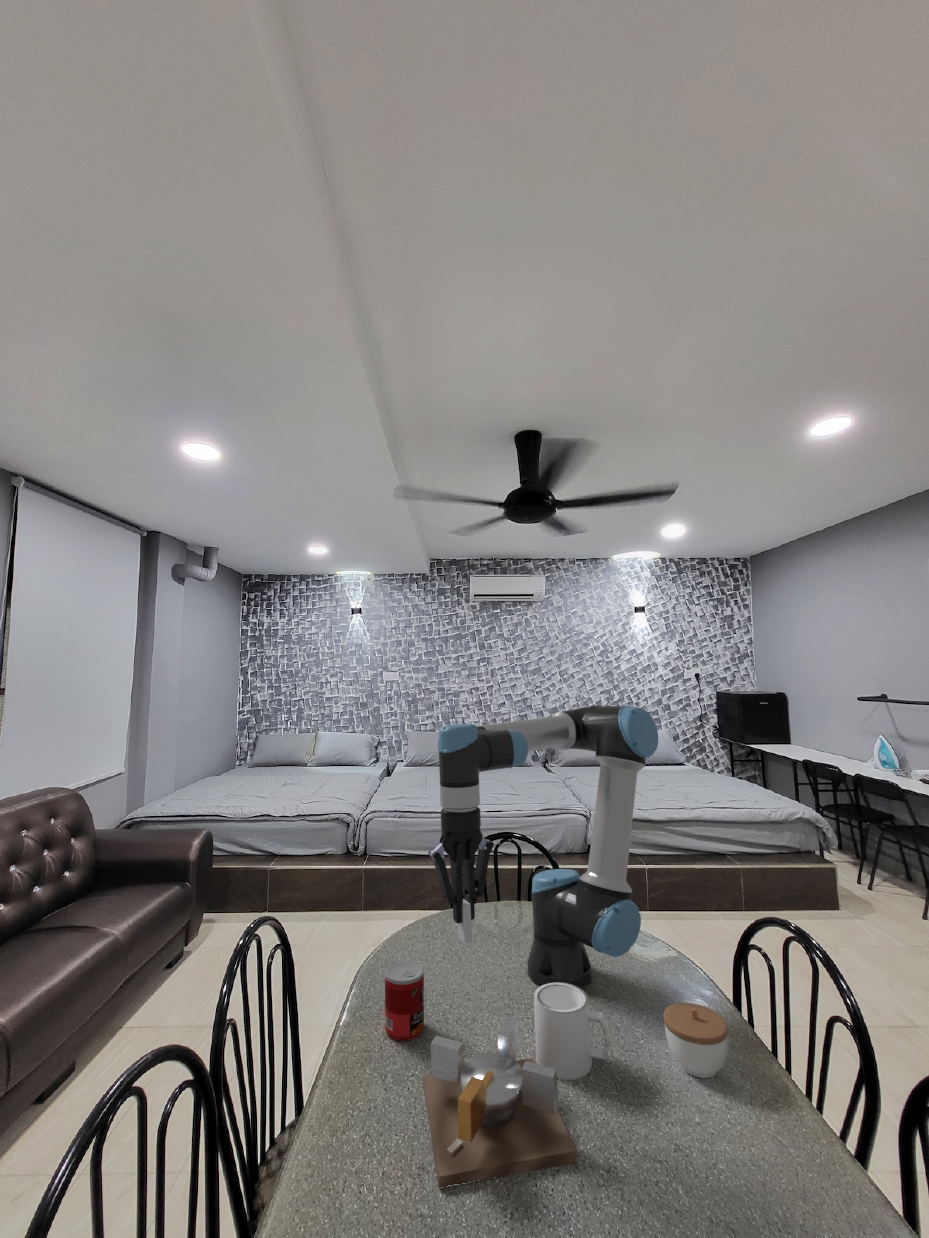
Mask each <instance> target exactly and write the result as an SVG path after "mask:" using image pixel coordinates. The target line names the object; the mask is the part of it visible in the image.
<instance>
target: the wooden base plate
mask: <svg viewBox="0 0 929 1238" xmlns="http://www.w3.org/2000/svg"><path fill="white" fill-rule="evenodd" d="M515 1061H516V1062H517V1063H518V1064H519V1065H520V1067H521V1069H522V1067H523V1065H524V1063H525V1061H528V1062H532V1063H535V1064H536V1062H535V1061H536V1060H534V1058H533V1057H531V1058H524V1059H518V1060H515ZM422 1086H423V1087H422V1088H423V1093H424V1098H425V1106H426V1112H427V1119H428V1125H429V1132H430V1133H429V1134H430V1138H431V1146H432V1151H433V1158H434V1164H435V1171H436V1177H437V1184H439V1185H438V1189H439V1188H441V1187H446V1186H448V1185H454V1184H462V1183H468V1182H473V1181H478V1180H483V1181H487V1180H488V1181H489V1180H493V1179H495V1178H494V1177H498V1178H502V1177H501V1176H504V1177H506V1176H505V1175H509V1176H511V1175H510V1174H514V1175H517V1174H518V1173H519V1174H523V1173H522V1172H524V1173H528V1171H529V1172H534V1171H539V1170H544V1169H548V1168H553V1167H554V1168H556V1167H559V1166H565V1165H570V1164H574V1163H577V1150H576V1148H575V1146H574V1144H573V1141H572V1139H571V1137H570V1135H569V1133H568V1131H567V1128H566V1126H565V1124H564V1122H563V1120H562V1118H561V1115H560V1113H559V1111H558V1109H556V1112H555V1115H554V1114H551V1113H547V1112H544V1111H541V1110H538V1109H535V1108H532V1107H528V1106H525V1105H523V1097H522V1100H521V1101H520V1103H519V1104H518V1105H517V1106H516V1107H515V1108H513V1109H512V1110H510V1111H508V1112H505V1113H502V1114H493V1115H492V1114H485V1117H484V1119H483V1121H482V1123H481V1125H480V1127H479V1129H478V1131H477V1133H476V1134H475V1136H474V1138H473V1140H472V1142H468V1141H465V1140H462V1139H459V1138H458V1098H459V1097H460V1095H461V1081H460V1082H459V1084H456V1083H453V1082H450V1081H446V1080H443V1079H440V1078H437V1077H434V1076H431V1073H429V1074H423V1075H422ZM532 1170H533V1171H532ZM526 1171H527V1172H526ZM516 1173H517V1174H516ZM519 1174H518V1175H519ZM490 1178H491V1179H490ZM492 1178H493V1179H492ZM478 1182H479V1181H478ZM473 1183H474V1182H473ZM468 1184H469V1183H468Z"/></svg>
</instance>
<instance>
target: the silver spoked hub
mask: <svg viewBox="0 0 929 1238" xmlns="http://www.w3.org/2000/svg"><path fill="white" fill-rule="evenodd" d="M519 1031H520V1030H519V1020H518V1019H515V1018H511V1017H507V1018H506V1019H505V1021H504V1022H503V1024H502V1026H501V1027H500V1030H499V1031H498V1033H497V1052H493V1051H492V1052H491V1051H490V1052H481V1053H479V1054H476V1055H472V1056H471V1057H469V1058H468V1059H467V1060H466V1061H465V1062H464V1044H463V1043H464V1042H460V1041H457V1040H453V1039H450V1038H446V1037H442V1036H439V1035H436V1036H435V1037H434V1038H433V1039H432V1040H431V1042H430V1074H431V1076H434V1077H437V1078H440V1079H443V1080H446V1081H450V1082H453V1083H456V1084H459V1082H460V1081H461V1095H460V1097H459V1098H458V1138H459V1139H462V1140H465V1141H468V1142H472V1140H473V1138H474V1136H475V1134H476V1133H477V1131H478V1129H479V1127H480V1125H481V1123H482V1121H483V1119H484V1117H485V1114H492V1115H493V1114H502V1113H505V1112H508V1111H510V1110H512V1109H513V1108H515V1107H516V1106H517V1105H518V1104H519V1103H520V1101H521V1100H522V1097H523V1105H525V1106H528V1107H532V1108H535V1109H538V1110H541V1111H544V1112H547V1113H551V1114H554V1115H555V1112H556V1109H557V1108H558V1106H559V1101H558V1099H559V1098H558V1096H559V1095H558V1078H557V1069H553V1068H550V1067H546V1066H543V1065H539V1064H537V1063H536V1062H535V1063H532V1062H528V1061H525V1063H524V1065H523V1067H522V1069H521V1067H520V1065H519V1064H518V1063H517V1062H516V1061H517V1060H516V1057H518V1056H517V1055H518V1054H519V1052H520V1039H519V1036H520V1035H519ZM557 1110H558V1109H557Z"/></svg>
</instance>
